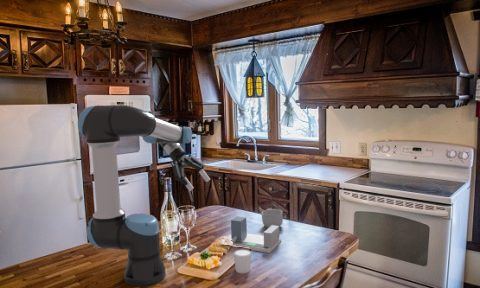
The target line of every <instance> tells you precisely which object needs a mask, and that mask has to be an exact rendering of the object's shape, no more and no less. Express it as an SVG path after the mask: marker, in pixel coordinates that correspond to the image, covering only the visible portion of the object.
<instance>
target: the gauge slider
mask: <svg viewBox="0 0 480 288" xmlns="http://www.w3.org/2000/svg"><path fill="white" fill-rule="evenodd" d="M230 230H231V231H230V232H231V234H230V235H231V237H232V240H231V241H232V242H234V241H235V240H243V239H244V238H245V237H246V236H247V233H248V228H247V217H246V216H245V217H244V216H237V215H236V216H235V217H233V218H231V220H230Z"/></svg>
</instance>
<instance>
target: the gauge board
mask: <svg viewBox="0 0 480 288" xmlns="http://www.w3.org/2000/svg"><path fill="white" fill-rule="evenodd" d="M227 237H229V238H230V239H232V237H231V234H229V235H228V236H227ZM281 242H282V238H281V237H280V226H275V225H272V226H270V227H269V228H267V229H266V230H265V231H263V235H262V234H261V235H260V234H255V233H254V234H253V233H248V232H247V236H246V237H245V238H244V239H243V240H235V241H234V242H233V245H236V246H242V247H249V248H250V249H251V250H250V251H256V252H262V253H268V254H269V253H270V254H271V252H272V251H273V250H274V249H275V248H276V247H277V246H279V244H280V243H281Z"/></svg>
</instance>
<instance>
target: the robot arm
mask: <svg viewBox="0 0 480 288" xmlns="http://www.w3.org/2000/svg"><path fill="white" fill-rule="evenodd" d="M77 129H78V133H80V135H81V136H82V137H84V138H86V144H87V145H88V146H89V147H90V148H91V155H92V156H91V157H92V168H93V169H92V170H93V171H92V172H93V182H94V183H93V185H94V194H95V195H94V196H95V206H96V210H95V212H94V213H93V214H92V218H91V219H90V220H89V221H88V223H87V224H88V225H87V226H86V235H87V236H86V237H87V240H88V241H89V243H90V244H91V245H92V246H93V247H95V248H100V249H104V250H106V249H110V250H111V249H112V250H120V251H121V250H124V251H127V261H126V266H125V270H124V273H123V275H124V276H123V277H124V283H126V284H127V285H129V286H132V287H147V286H151V285H154V284H157V283H159V282H161V281H162V280H163V279H165V277H166V275H167V271H166V266H165V264H164V261H163V259H162V256H161V252H160V251H161V246H160V227H159V221H158V219H157V218H156V217H155V216H154V215H152V214H149V213H141V212H140V213H132V214H129V215H128V216H126V211H125V210H124V209H123V208H122V207H121V198H120V183H119V181H120V180H119V169H118V154H117V152H118V151H117V145H118V144H119V143H120V141H121V139H120V138H127V137H128V138H129V137H142V140H143V141H144V142H145V143H146V144H159V145H160V146H161V148H163V150H164V151H165V153H167V155H168V156H169V158H170V159H171V161H172V162H171V163H170V165H171V168H172V170H173V174H174V178H175V181H177V182H182V184H183V185H184V186H185V188H186V189H188V191H189V192H191V191H192V190H193V189H194V188H195V187H194V186H193V185H192V183H191V181H189V179H188V178H187V177H186V176H185V167H191V168H193V169H195V170H197V171H198V173H199V174H200V175H201V177H202V178H203V180H204V181H205V183H208V182H209V181H210V180H211V178H210V176H209V175H208V173H207V172H206V170H205V165H204V163H202V162H201V161H199V160H198V159H196V158H195V157H194V156H193V155H192V154H190V153H189V154H188V155H186V151H185V149H184V148H183V147H182V146H181V144H189V143H191V141H192V140H193V131H192V129H191V127H189V126H178V125H176V124H173V123H170V122H167V121H165V120H162V119H160V118H157V117H155V116H154V115H153V114H152V113H151V112H149V111H146V110H144V109H141V108H137V107H134V106H130V105H125V104H117V105H116V104H115V105H114V104H112V105H99V104H98V105H92V106H88V107H85V108H84V109H83V110H82V111H81V112H80V114H79V117H78V120H77Z"/></svg>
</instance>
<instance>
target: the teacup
mask: <svg viewBox="0 0 480 288" xmlns="http://www.w3.org/2000/svg"><path fill="white" fill-rule="evenodd" d="M283 213H284V212H283V211H282V210H281V209H278V208H267V209H265V210H263V211H261V220H262V224H263V225H264V226H263V227H266V228H267V229H268V228H269V227H270V226H272V225H275V226H279V227H280V226H282V224H283V222H284V221H283V220H284V219H283V218H284V217H283Z"/></svg>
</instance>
